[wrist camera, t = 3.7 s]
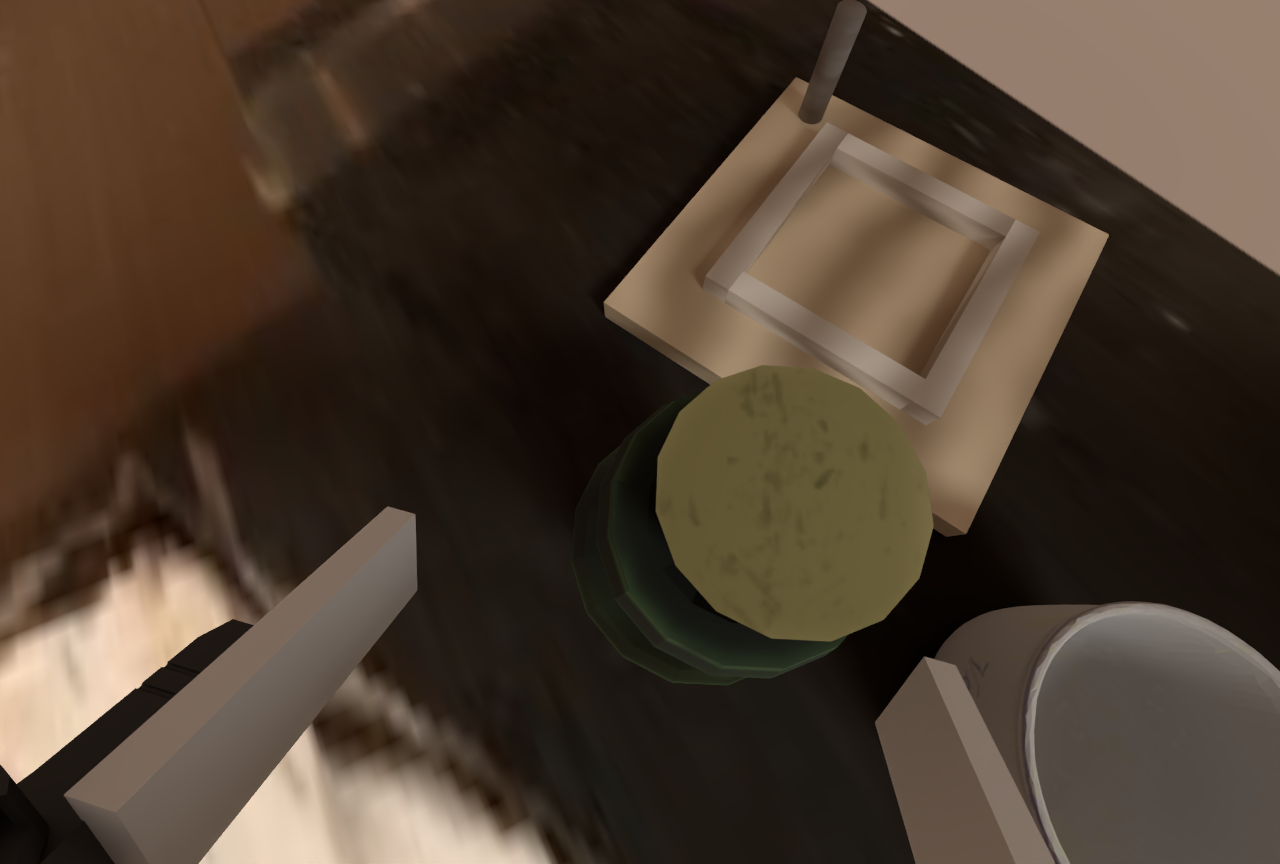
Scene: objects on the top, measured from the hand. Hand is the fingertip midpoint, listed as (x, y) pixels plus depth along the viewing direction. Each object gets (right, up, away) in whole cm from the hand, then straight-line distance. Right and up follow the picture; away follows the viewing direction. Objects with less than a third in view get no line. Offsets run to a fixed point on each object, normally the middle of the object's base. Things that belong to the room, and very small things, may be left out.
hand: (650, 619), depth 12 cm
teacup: (+17, -10, +9) cm, 22 cm away
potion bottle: (+1, -1, +12) cm, 12 cm away
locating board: (+13, +14, +17) cm, 25 cm away
